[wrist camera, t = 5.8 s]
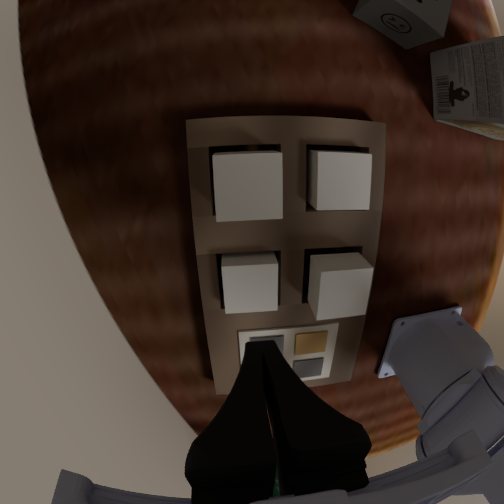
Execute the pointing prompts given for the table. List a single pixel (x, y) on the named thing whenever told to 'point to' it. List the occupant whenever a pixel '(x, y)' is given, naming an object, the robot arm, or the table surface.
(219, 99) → the table surface
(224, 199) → the button
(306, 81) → the table surface
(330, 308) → the button
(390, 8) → the grey cube with symbol
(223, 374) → the board
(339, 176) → the button
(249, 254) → the button
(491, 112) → the coffee box
